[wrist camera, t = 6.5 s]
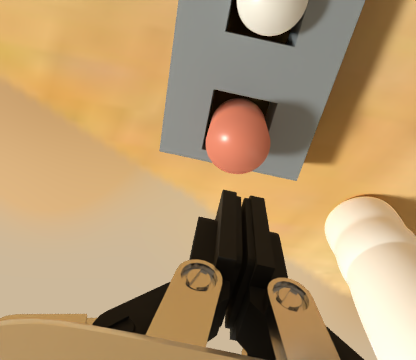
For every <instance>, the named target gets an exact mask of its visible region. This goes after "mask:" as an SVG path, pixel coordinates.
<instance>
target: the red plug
mask: <svg viewBox="0 0 416 360" xmlns="http://www.w3.org/2000/svg"><path fill="white" fill-rule="evenodd" d="M269 150H270V136H269V132H268V128H267V125H266V121H265V118H264V115H263V113H262V111H261V109H260V108H259V107H258V106H257V105H256V104H255V103H253V102H252V101H250V100H247V99H243V98H234V99H230V100H227V101H225V102H224V103H222V104H221V105H220V106H219V107H218V108H217V109H216V110H215V112H214V114H213V116H212V120H211V123H210V126H209V130H208V133H207V137H206V151H207V154H208V156H209V158H210V160H211V161H212V162H213V164H214V165H215V166H217V167H218V168H219V169H221V170H223V171H225V172H228V173H233V174H243V173H247V172H250V171H253V170H255V169H256V168H258V167H259V166H260V165H261V164H262V163H263V162H264V161H265V159H266V158H267V156H268V153H269Z"/></svg>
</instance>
